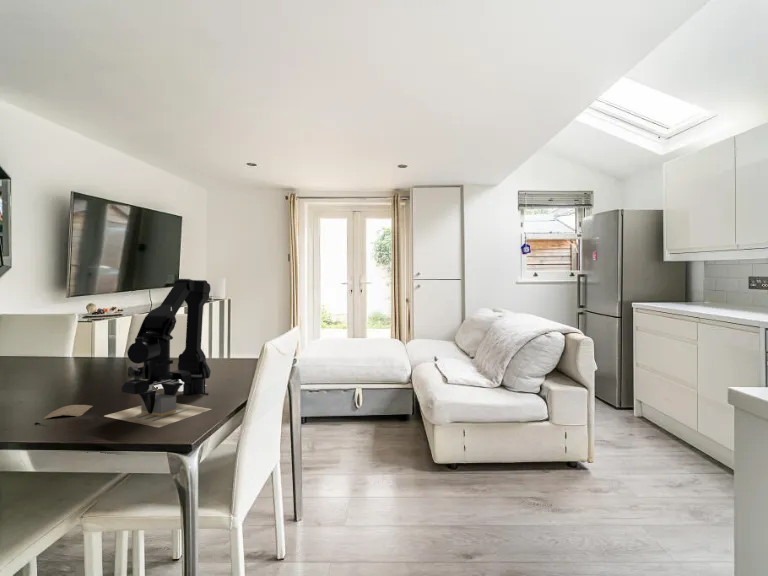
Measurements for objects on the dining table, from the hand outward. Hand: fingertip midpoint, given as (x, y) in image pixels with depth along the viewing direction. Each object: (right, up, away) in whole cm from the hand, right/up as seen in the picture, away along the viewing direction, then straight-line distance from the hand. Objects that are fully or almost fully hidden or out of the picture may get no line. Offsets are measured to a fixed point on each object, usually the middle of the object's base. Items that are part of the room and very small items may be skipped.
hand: (158, 410), depth 124 cm
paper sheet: (-17, -2, +31) cm, 36 cm away
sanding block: (0, 0, 0) cm, 0 cm away
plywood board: (0, -2, 0) cm, 2 cm away
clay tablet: (-25, -2, -1) cm, 25 cm away
